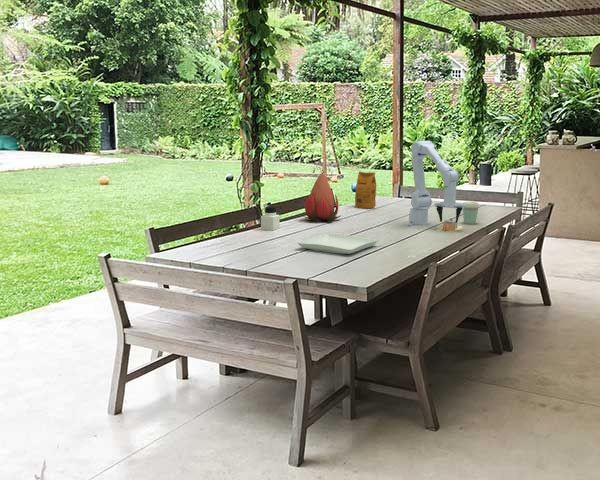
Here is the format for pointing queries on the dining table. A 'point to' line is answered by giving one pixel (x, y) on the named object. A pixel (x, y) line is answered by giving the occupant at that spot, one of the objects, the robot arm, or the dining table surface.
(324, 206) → the decorative flower
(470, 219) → the coffee cup
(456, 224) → the gear
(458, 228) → the gear board
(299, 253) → the dining table surface
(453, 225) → the loose gear
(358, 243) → the square plate
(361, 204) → the coffee package
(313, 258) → the dining table surface
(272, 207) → the medicine bottle
